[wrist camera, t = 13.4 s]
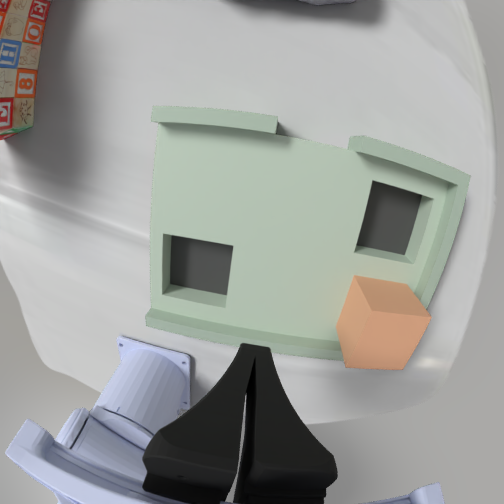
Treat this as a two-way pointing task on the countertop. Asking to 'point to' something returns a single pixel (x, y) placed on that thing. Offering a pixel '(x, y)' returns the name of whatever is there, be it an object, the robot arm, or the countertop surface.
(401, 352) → the block
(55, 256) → the countertop surface
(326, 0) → the stone block
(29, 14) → the stack of blocks
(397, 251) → the board
